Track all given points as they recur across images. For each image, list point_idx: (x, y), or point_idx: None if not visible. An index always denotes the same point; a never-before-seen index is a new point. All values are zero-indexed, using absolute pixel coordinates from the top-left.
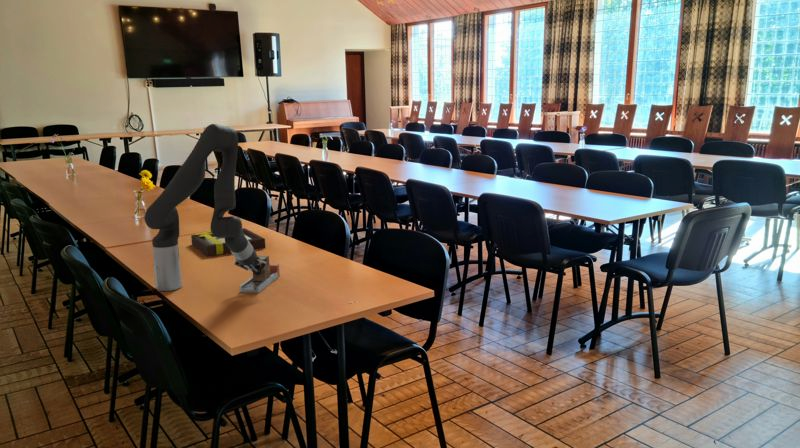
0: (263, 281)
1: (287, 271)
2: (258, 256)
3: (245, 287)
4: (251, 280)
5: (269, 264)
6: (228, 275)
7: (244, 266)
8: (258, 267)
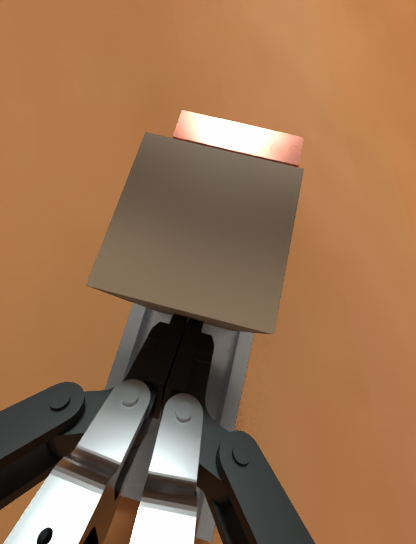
0: (231, 391)
1: (301, 123)
2: (170, 185)
3: None
4: (143, 323)
5: (238, 133)
6: (17, 149)
7: (11, 496)
8: (208, 490)
